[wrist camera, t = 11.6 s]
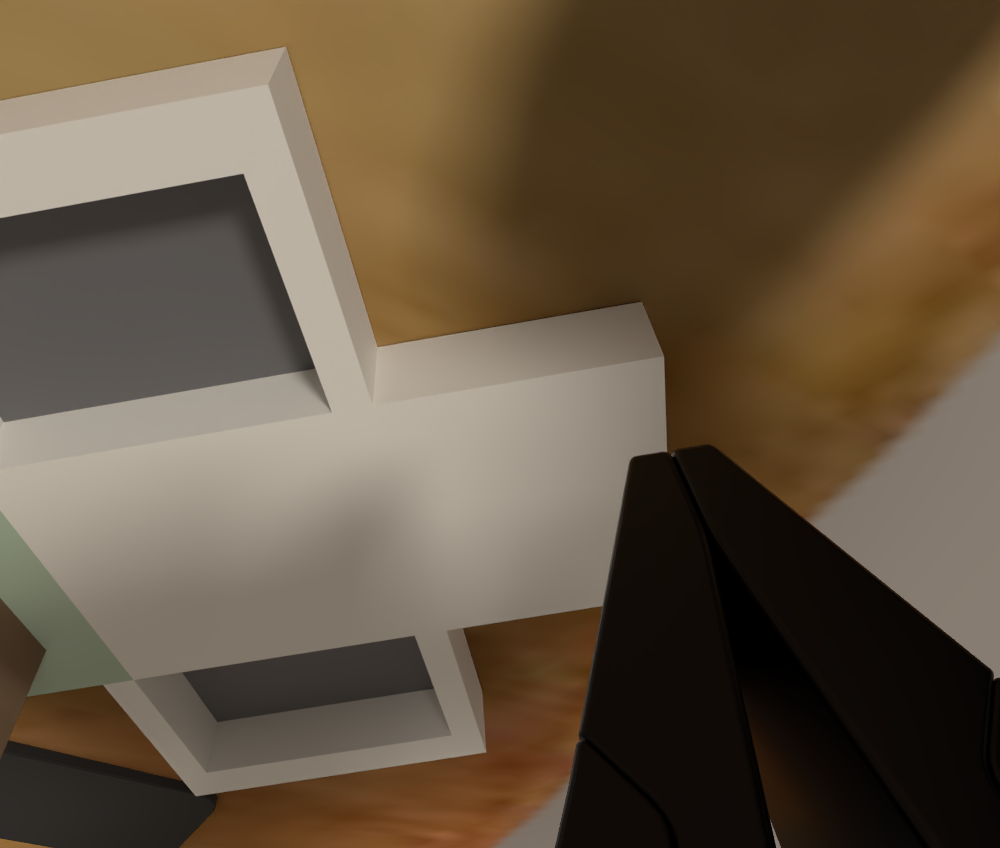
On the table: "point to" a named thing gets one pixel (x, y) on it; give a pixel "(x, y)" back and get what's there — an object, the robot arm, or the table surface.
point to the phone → (92, 803)
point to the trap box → (274, 442)
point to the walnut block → (15, 669)
